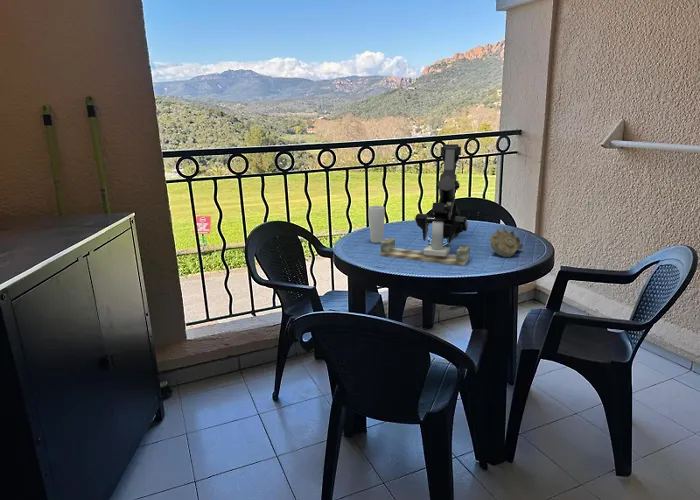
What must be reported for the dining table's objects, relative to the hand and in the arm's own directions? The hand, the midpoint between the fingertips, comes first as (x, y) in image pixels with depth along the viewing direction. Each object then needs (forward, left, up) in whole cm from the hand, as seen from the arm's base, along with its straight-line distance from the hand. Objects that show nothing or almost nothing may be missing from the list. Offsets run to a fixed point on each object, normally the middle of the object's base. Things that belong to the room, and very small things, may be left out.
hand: (436, 241), depth 159 cm
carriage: (-1, -1, -5) cm, 5 cm away
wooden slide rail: (+2, -5, -7) cm, 9 cm away
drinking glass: (+8, -33, -7) cm, 34 cm away
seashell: (-28, +5, -7) cm, 30 cm away
